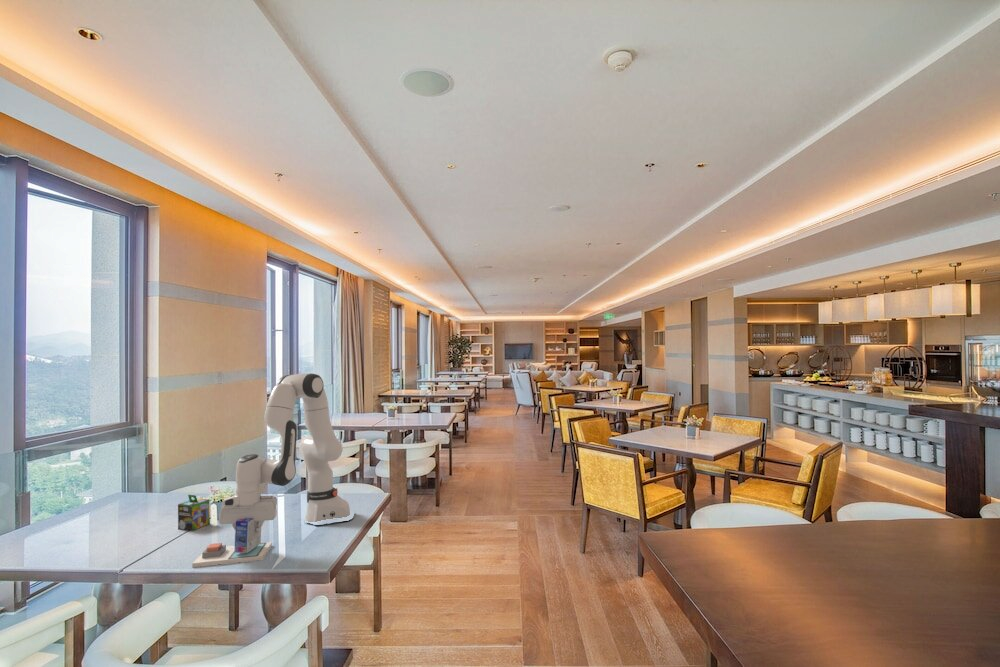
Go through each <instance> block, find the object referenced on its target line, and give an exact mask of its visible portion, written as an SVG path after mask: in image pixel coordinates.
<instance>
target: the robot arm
mask: <svg viewBox="0 0 1000 667" xmlns="http://www.w3.org/2000/svg"><path fill="white" fill-rule="evenodd" d="M297 399H302V407H303V408H302V409H303V417H304V426H305V428H306V429H307V430H308V433H309V434H310V435H308V436H305V437H303V438H302V439H301V440H300V442H299V445H298V449H299V452H300V454H301V456H302V457H303V459H304V463H305V468H306V471H307V472H306V473H307V491H306V503H307V507H306V513H305V518H304V521H305V520H306V521H308V522H317V521H321V520H326V519H333V518H342V517H347V516H349V515H350V510H351V507H350V504H349V501H347V500H346V499H344V498H343V497H341V496H340V495H338V487H336V488H335V487H334V486H333V485H334V473H333V472H334V471H333V468H331V466H330V464H329V462H334V461H337V460H338V459H339V458H340V457H341V455H342V453H343V444H342V443H341V442H340V441H339V439H338V438H337V436H336V433H335V431H334V429H333V426H332V422H331V417H330V410H329V401H328V398H327V393H326V391H325V386H324V381H323V379H322V377H321V376H320V375H319V374H316V373H297V374H296V373H294V374H286V375H284V376H281V377H280V378H279V379H278V381H277V383H276V385H274V386H273V389H272V390H271V392H270V395H269V397H268V399H267V403H266V405H265V406H266V407H265V411H264V415H263V417H264V419H263V420H264V423H265V425H266V426H268V428H269V429H271V430H273V431H274V432H276V433H278V434H279V435H280V438H281V448H280V457H279V459H269V458H264V457H260V455H258V454H256V453H253V454H251V453H250V454H247V455H244V456H242V457H240V458H239V459H238V460H237V463H236V467H235V468H236V469H235V483H236V488H235V493H233V494H230V495H228V496H227V497H225V498H224V499H222V501H221V508H220V509H219V516H218V522H219V524H220V525H231V524H232V528H233V529H234V530H235V528H236V521H237V520H239V519H245V518H246V519H247V518H253V519H254V522H255V521H259V524H260V526H259V527H257V528H256V533H258V532H261V533H262V526H263V525H264V523H265V521H266V522H267V521H274V519H275V518H276V517H277V515H278V514H277V505H278V499H277V497H276V496H273V495H264V496H262V485H261V484H266V485H274V486H279V487H285V486H287V485H289V483H291V482H292V481H293V479H294V478H295V476H296V473H297V472H296V471H297V470H296V449H297V448H296V447H297V438H298V437H297V436H298V434H297V433H298V429H297V425H296V422H295V421H294V410H295V406H296V405H295V404H296V400H297Z"/></svg>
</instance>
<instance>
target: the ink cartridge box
mask: <svg viewBox="0 0 1000 667" xmlns="http://www.w3.org/2000/svg"><path fill="white" fill-rule="evenodd" d="M259 526H260V524H259V521H255V522H254V519H253V518H247V519H246V518H245V519H239V520H237V521H236V528H235V529H234V531H235V532H234V533H235V534H234V546H235V553H245V554H246V553H248V552H249V551H251V550H252V549H253V548H255V547H256V546H258V545H259V544H260V543H262V531H261V532H258V533H256V528H257V527H259Z"/></svg>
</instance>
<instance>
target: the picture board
mask: <svg viewBox="0 0 1000 667" xmlns="http://www.w3.org/2000/svg"><path fill="white" fill-rule="evenodd" d="M271 545H272V546H273V542H272V541H268V542H267V541H266V542H261V543H260V544H259V545H258V546H256V547H255V548H253V549H252V550H251V551H249V552H248V553H246V554H245V553H235V545H227V544H222V548H221V549H220V550H219V551H209V552H207V548H205V550H203V551H202V553H201V554H199V556H198V557H196V559H195V560H194V561H193V562H192V564H191V565H192V568H199V567H200V566H201V567H210V565H211V566H218V564H221V565H227V564H226V563H230V564H237V563H238V562H240V563H246V562H248V561H249V562H257V561H256V560H259V561H263V560H264V559H265V557H266V556H265V555H267V554H268V553H269V551H270V549H271V548H272V546H271ZM270 547H271V548H270ZM269 548H270V549H269ZM268 550H269V551H268ZM267 552H268V553H267ZM266 553H267V554H266ZM263 558H264V559H263Z"/></svg>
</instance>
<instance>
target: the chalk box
mask: <svg viewBox="0 0 1000 667" xmlns="http://www.w3.org/2000/svg"><path fill="white" fill-rule="evenodd" d="M187 496H188V500H185V501H183V502H181V503H178V504H177V519H178V520H177V529H178V530H183V531H189V532H193V531H196V530H197V529H200V528H203V527H205V526H208V525H210V524H211V516H210V514H211V512H210V511H211V510H210V499H208V498H197V496H196V495H195V494H188V495H187ZM192 498H193V499H192Z"/></svg>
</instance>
